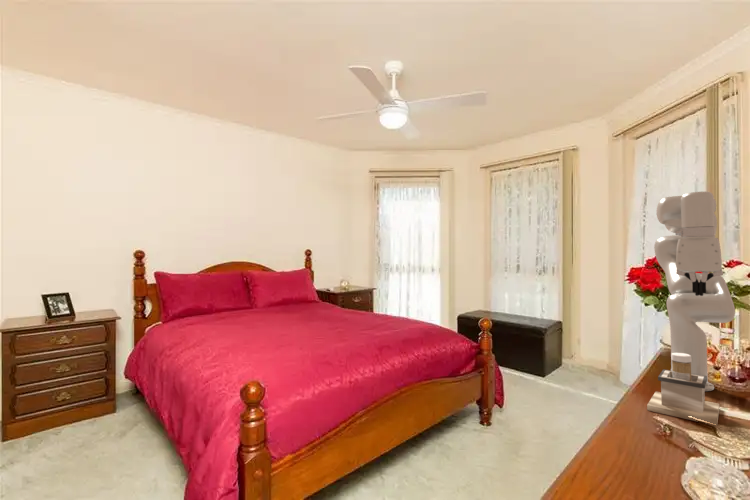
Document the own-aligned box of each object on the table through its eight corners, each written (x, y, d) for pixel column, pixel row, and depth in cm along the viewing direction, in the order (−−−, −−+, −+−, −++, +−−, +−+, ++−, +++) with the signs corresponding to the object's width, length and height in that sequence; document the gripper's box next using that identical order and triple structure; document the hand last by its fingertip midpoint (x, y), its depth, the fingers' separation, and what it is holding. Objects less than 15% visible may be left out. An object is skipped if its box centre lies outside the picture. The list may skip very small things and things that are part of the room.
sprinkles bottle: (695, 401, 109) (693, 354, 109) (689, 404, 106) (688, 356, 107) (676, 396, 113) (674, 351, 113) (670, 400, 110) (668, 353, 111)
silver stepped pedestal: (655, 396, 120) (654, 366, 120) (719, 408, 110) (718, 376, 110) (647, 410, 109) (646, 377, 109) (717, 425, 99) (716, 389, 99)
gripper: (664, 234, 115) (665, 294, 115) (731, 232, 105) (733, 298, 104) (668, 235, 121) (669, 292, 120) (732, 232, 110) (734, 295, 110)
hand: (699, 295), depth 112 cm, fingers closed
